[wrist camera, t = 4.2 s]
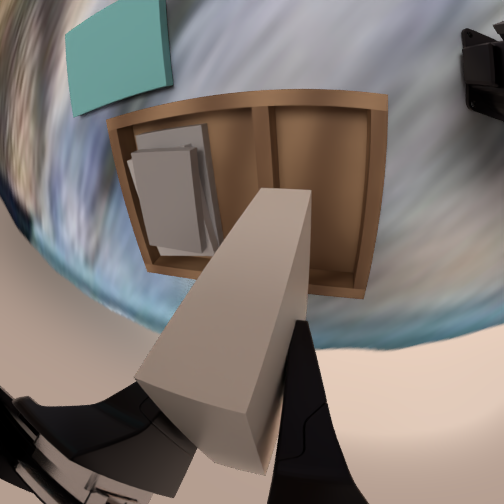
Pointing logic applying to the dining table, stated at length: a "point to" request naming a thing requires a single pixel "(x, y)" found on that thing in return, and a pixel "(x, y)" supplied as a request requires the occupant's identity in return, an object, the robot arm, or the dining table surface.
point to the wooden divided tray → (280, 171)
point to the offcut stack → (178, 190)
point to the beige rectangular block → (237, 335)
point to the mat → (118, 54)
